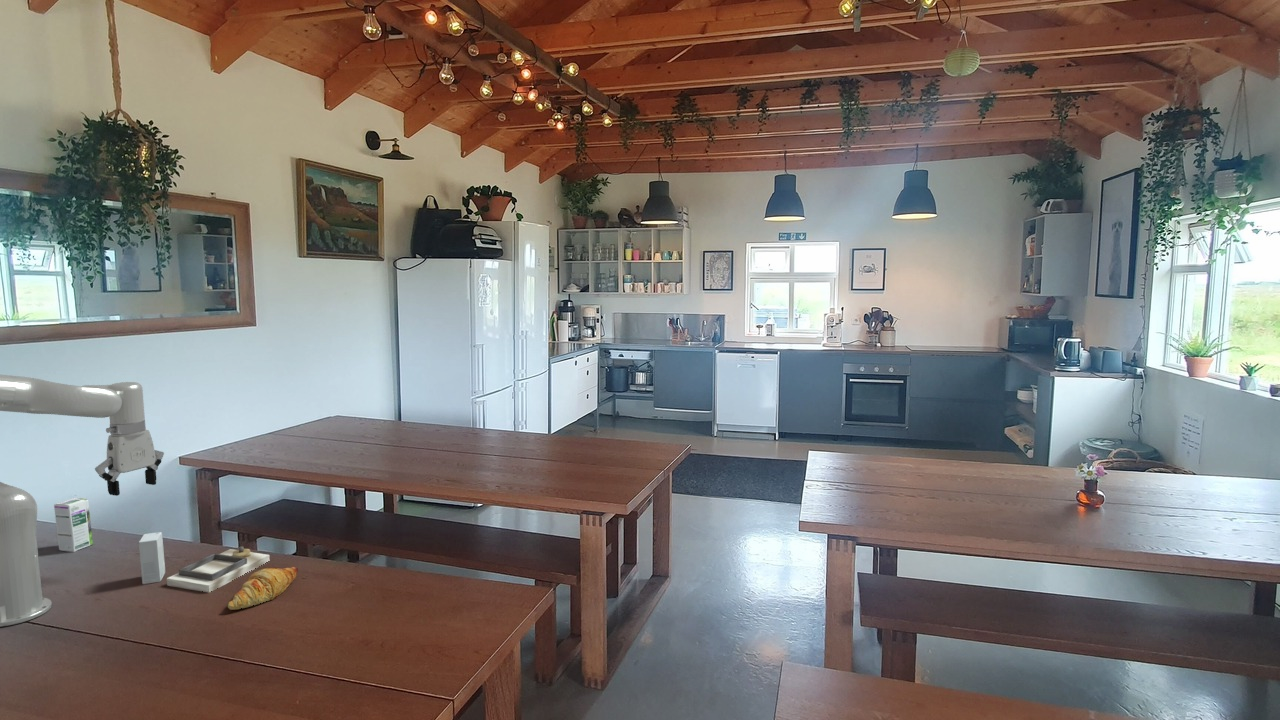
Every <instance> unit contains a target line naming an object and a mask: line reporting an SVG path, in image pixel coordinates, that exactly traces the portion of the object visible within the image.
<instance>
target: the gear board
mask: <svg viewBox="0 0 1280 720" xmlns="http://www.w3.org/2000/svg"><path fill="white" fill-rule="evenodd" d="M270 559H271V558H270V554H265V553H259V552H253V551H251V549H250V548H244V546H242V545H241V546H239V547H238V549H232V548H230V549H227V550H225V551H223V552H221V553H213V554H211V555H210V554H209V556H206V557H204V558H202V559H199V560H198V561H195V562H193V563H191V564H189V565H186V566H184V567H182V568H180V569H178V573H175V574H173V575H171V576H168V577H167V578H166V585H167V586H169V587H172V588H174V587H175V588H179V589H185V590H192V591H198V592H202V591H203V593H212V592H214V591H216V590H217V588H218V589H220V588H221V587H223V586H225V585H227V584H229V583H231V582H233V581H235V580H237V579H239V578H241V577H242V575H243V576H245V575H246V574H245V573H247V572H248V573H250V572H252V571H254V570H256V569H259V568H260V567H262V566H264V565H266V564H267V563H266V562H268V561H271V560H270ZM265 563H266V564H265ZM268 563H269V562H268ZM263 564H264V565H263ZM261 565H262V566H261ZM259 566H260V567H259ZM255 568H256V569H255ZM251 570H252V571H251ZM249 571H250V572H249ZM248 573H247V574H248ZM244 574H245V575H244ZM240 576H241V577H240ZM238 577H239V578H238ZM236 578H237V579H236ZM234 579H235V580H234ZM232 580H233V581H232ZM211 591H212V592H211Z"/></svg>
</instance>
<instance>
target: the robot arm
mask: <svg viewBox="0 0 1280 720" xmlns="http://www.w3.org/2000/svg"><path fill="white" fill-rule="evenodd" d="M143 391H144V390H143V386H142V384H141V383H140V382H135V381H125V382H124V381H123V382H116V383H111V384H97V385H95V384H91V385H89V384H88V385H86V384H85V385H74V384H67V383H59V382H54V381H49V380H44V379H41V378H34V377H30V376H29V377H28V376H18V375H7V374H0V412H6V413H7V412H9V413H11V412H12V413H23V414H34V415H35V414H36V415H37V414H38V415H40V414H41V415H56V416H58V415H59V416H69V417H70V416H71V417H85V418H96V419H97V418H98V419H99V418H100V419H105V418H109V427H107V428H105V431H106V434H109V433H110V435H108V439H107V443H106V445H107V446H106V459H105V460H104V461H102V462H101V463H100V464H98V465H97V466H96V467H95V468H94V471H95V472H96V473H97V474H98V477H99V478H101V479H103V480H104V481H105V482H106V483H107V492H108V495H110V496H116V497H117V496H120V492H121V491H120V482H119V480H118V478H119V476H120V474H124V473H129V472H133V471H138V470H141V469H145V468H146V469H145V471H144V477H145V484H147V485H150V486H151V485H152V486H156V485H157V470H158V469H159V465H161V463H162V459H163V457H164V455H165V452H164V451H162V450H161V451H160V450H156V449H155V446H154V441H153V437H152V435H151V432H150V430H149V429H146V418H145V403H144V393H143ZM106 469H107V470H108V472H106ZM37 521H38V505H37V501H36V500H35V498H34V497H33V495H32V494H31V493H29V492H28V491H27V490H24V489H22V488H19V487H17V486H14V485H9V484H7V483H4V482H2V481H0V627H7V626H12V625H18V624H21V623H24V622H28V621H30V620H33V619H35V618H38V617H41V616H42V615H44V614H45V613H47V612H49V610H51V608H52V606H53V603H52V599H50V598H48V597H43V592H42V591H43V590H42V589H43V588H42V581H41V571H40V561H39V551H38V543H37Z"/></svg>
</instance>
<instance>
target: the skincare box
mask: <svg viewBox="0 0 1280 720" xmlns="http://www.w3.org/2000/svg"><path fill="white" fill-rule="evenodd" d="M163 542H164V541H163V532H162V531H160V532H151V533H149V532H148V533H144V534H142V537H141V539H139V541H138V550H139V561H140V563H139V564H140V572H141V581H142V582H141V583H142V584H141V585H148V584H154V583H160V582H161V581H162V580H163V577H164V576H165V575H166V565H165V555H164V554H165V553H164V543H163Z"/></svg>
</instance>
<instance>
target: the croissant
mask: <svg viewBox="0 0 1280 720" xmlns="http://www.w3.org/2000/svg"><path fill="white" fill-rule="evenodd" d="M298 572H299V568H298V567H295V566H292V567H286V568H282V567H281V568H277V567H267V568H261V569H259V570H257V571H254V572H253V573H252V574H251V575H249V576H248V579H247V581H245V582H244V583H243V584H242V586H241V589H240V590H239V591H237V592H236V593H235V594H234V595H233V598H232V600H230V601H229V602H228V603H227V608H228V609H229V610H231V611H233V610H235V611H237V610H241V608H242V609H245V608H246V609H247V608H249V607H250V608H251V607H253V605H254V606H256V605H260V603H261V604H264V603H266V601H267V602H269V601H272V600H274V599H275V598H276V596H277V597H279V596H281V595H282V594H283V593H284V592H285V591H286V590H287V589H288V587H290V585H291V584H292V583H293V581H294V580H295V579H296V577H297V574H298ZM278 595H279V596H278ZM263 602H264V603H263Z"/></svg>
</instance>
